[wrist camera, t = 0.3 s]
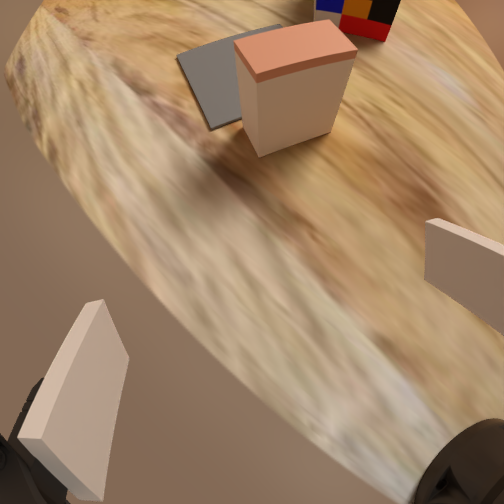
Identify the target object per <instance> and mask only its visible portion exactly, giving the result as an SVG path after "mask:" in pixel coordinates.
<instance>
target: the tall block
mask: <svg viewBox="0 0 504 504" xmlns="http://www.w3.org/2000/svg"><path fill="white" fill-rule="evenodd" d="M233 42H234V51H235V60H236V69H237V78H238V87H239V96H240V105H241V114H242V123H243V128H244V130H245V132H246V134H247V136H248V138H249V140H250V142H251V143H252V145H253V147H254V149H255V151H256V153H257V155H258V157H259V158H260V157H262V156H265V155H268V154H270V153H273V152H276V151H278V150H281V149H284V148H286V147H289V146H292V145H295V144H298V143H300V142H303V141H306V140H309V139H312V138H315V137H318V136H321V135H324V134H326V133H329V132H331V130H332V127H333V124H334V121H335V118H336V115H337V112H338V109H339V106H340V103H341V100H342V97H343V94H344V91H345V88H346V85H347V82H348V79H349V76H350V73H351V70H352V66H353V63H354V60H355V57H356V54H357V51H358V49H357V48H356V47H355V46H354V45H353V44H352V42H351V41H350V40H349V39H348V38H347V37H346V36H345V35H344V34H343V33H342V32H341V31H340V30H339V29H338V28H337V27H336V26H335V25H334V24H333V23H332V22H331V21H330V20H329V19H328V20H321V21H315V22H310V23H304V24H299V25H294V26H289V27H284V28H280V29H275V30H271V31H267V32H263V33H259V34H255V35H251V36H248V37H244V38H240V39H237V40H234V41H233Z"/></svg>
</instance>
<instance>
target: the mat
mask: <svg viewBox="0 0 504 504" xmlns="http://www.w3.org/2000/svg"><path fill="white" fill-rule="evenodd" d="M280 28H283V27H282V26H281V25H280V24H277V25H273V26H269V27H264V28H260V29H256V30H253V31H249V32H245V33H241V34H238V35H234V36H231V37H228V38H224V39H221V40H218V41H215V42H212V43H209V44H206V45H203V46H200V47H197V48H194V49H191V50H189V51H186V52H183V53H180V54H178V55H177V58H178V60H179V62H180V64H181V66H182V68H183V70H184V73H185V75H186V77H187V79H188V81H189V83H190V85H191V87H192V89H193V91H194V94H195V96H196V98H197V100H198V102H199V104H200V106H201V108H202V110H203V113H204V115H205V117H206V119H207V121H208V123H209V125H210V127H211V130H214V129H216V128H219V127H221V126H224V125H226V124H229V123H232V122H234V121H237V120H240V119H242V114H241V105H240V96H239V87H238V78H237V69H236V60H235V51H234V42H233V41H234V40H237V39H240V38H244V37H248V36H251V35H255V34H259V33H263V32H267V31H271V30H275V29H280Z"/></svg>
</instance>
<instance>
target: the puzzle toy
mask: <svg viewBox="0 0 504 504" xmlns="http://www.w3.org/2000/svg"><path fill="white" fill-rule="evenodd" d="M400 1H401V0H314V16H313V22H315V21H321V20H328V19H329V20H330V21H331V22H332V23H333V24H334V25H335V26H336V27H337V28H338V29H339V30H340V31H341V32H344V33H349V34H354V35H358V36H363V37H367V38H372V39H376V40H380V41H384V42H385V41H386V38H387V36H388V33H389V30H390V28H391V25H392V23H393V20H394V17H395V15H396V12H397V9H398V7H399V4H400Z"/></svg>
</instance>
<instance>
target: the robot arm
mask: <svg viewBox="0 0 504 504" xmlns="http://www.w3.org/2000/svg"><path fill="white" fill-rule="evenodd" d="M424 280H426V281H427V282H429V283H430V284H432V285H433V286H435V287H436V288H438V289H439V290H441V291H442V292H444V293H445V294H447V295H448V296H449V297H451V298H452V299H454V300H455V301H457V302H458V303H459V304H461V305H462V306H464V307H465V308H467V309H468V310H469V311H471V312H472V313H474V314H475V315H476V316H478V317H479V318H481V319H482V320H483V321H485V322H486V323H487V324H489V325H490V326H491V327H493V328H494V329H495V330H497V331H498V332H499V333H501V334H502V335H503V336H504V245H502V244H500V243H498V242H496V241H493V240H491V239H489V238H486V237H484V236H482V235H479V234H477V233H475V232H472V231H470V230H467V229H465V228H462V227H460V226H457V225H455V224H452V223H450V222H447V221H445V220H442V219H439V218H436V219H432V220H428V221H425V275H424ZM128 362H129V357H128V354H127V352H126V350H125V348H124V346H123V344H122V342H121V339H120V337H119V335H118V333H117V330H116V328H115V326H114V324H113V321H112V319H111V317H110V314H109V312H108V309H107V307H106V304H105V302H104V300H98V301H93V302H89V303H86V304H85V306H84V308H83V309H82V311H81V313H80V314H79V316H78V318H77V319H76V321H75V323H74V325H73V326H72V328H71V330H70V331H69V333H68V335H67V337H66V339H65V340H64V342H63V344H62V346H61V348H60V349H59V351H58V353H57V355H56V357H55V359H54V361H53V363H52V364H51V366H50V368H49V370H48V372H47V374H46V376H45V378H41V380H40V381H39V382H38V383H37V384H36V385H35V386H34V387H33V388H32V390H31V392H30V394H29V396H28V398H27V400H26V401H27V402H26V403H25V404H24V406H23V408H22V412H20V414H19V416H18V419H17V421H16V423H15V425H14V427H13V430H12V432H11V434H10V437H9V439H8V441H6V440H5V438H4V437H3V436H2V435H1V434H0V504H70V503H69V502H68V501H67V500H66V495H67V490H69V491H70V492H71V493H72V494H73V495H74V496H75V497H77V498H78V499H79V500H86V501H87V500H88V501H103V497H104V489H105V482H106V475H107V468H108V462H109V456H110V449H111V444H112V438H113V432H114V427H115V422H116V417H117V412H118V407H119V402H120V397H121V392H122V388H123V383H124V379H125V375H126V370H127V366H128ZM415 504H504V420H501V419H487V420H483V421H480V422H478V423H476V424H474V425H472V426H470V427H469V428H467V429H466V430H464V431H463V432H461V433H460V434H459V435H458V436H456V437H455V438H454V439H453V440H452V441H451V442H450V443H449V444H448V445H447V446H446V447H445V448H444V449H443V450H442V451H441V452H440V453H439V455H438V456H437V457H436V458H435V460H434V461H433V462H432V464H431V465H430V467H429V468H428V470H427V471H426V473H425V475H424V477H423V478H422V480H421V483H420V485H419V487H418V490H417V493H416V497H415Z"/></svg>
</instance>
